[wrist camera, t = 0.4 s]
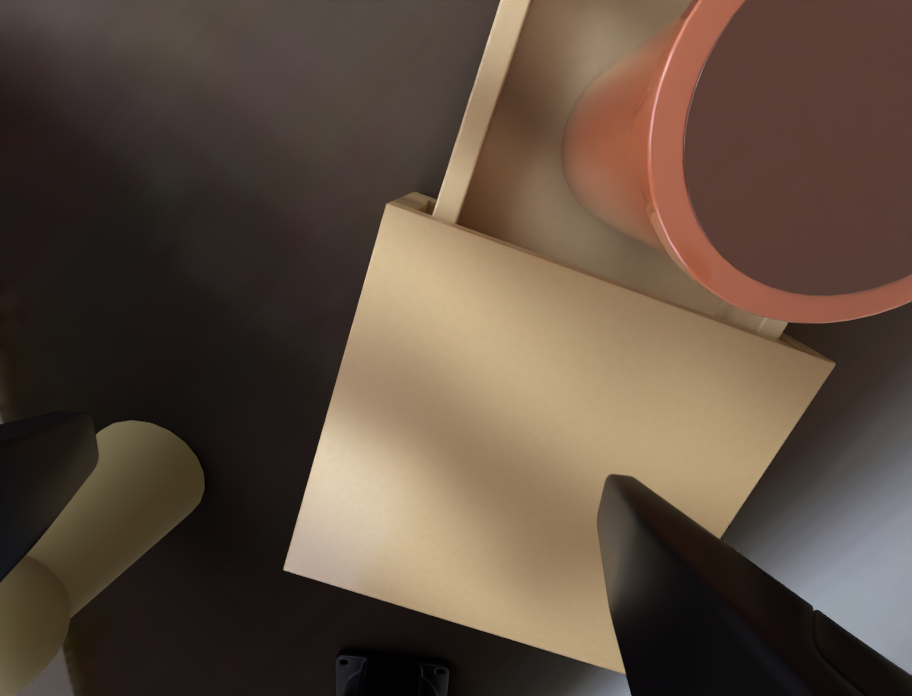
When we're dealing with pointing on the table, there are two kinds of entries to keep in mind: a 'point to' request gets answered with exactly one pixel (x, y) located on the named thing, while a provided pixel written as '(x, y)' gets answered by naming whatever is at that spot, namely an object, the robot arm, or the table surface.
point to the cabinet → (526, 430)
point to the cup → (761, 153)
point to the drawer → (557, 145)
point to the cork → (94, 542)
